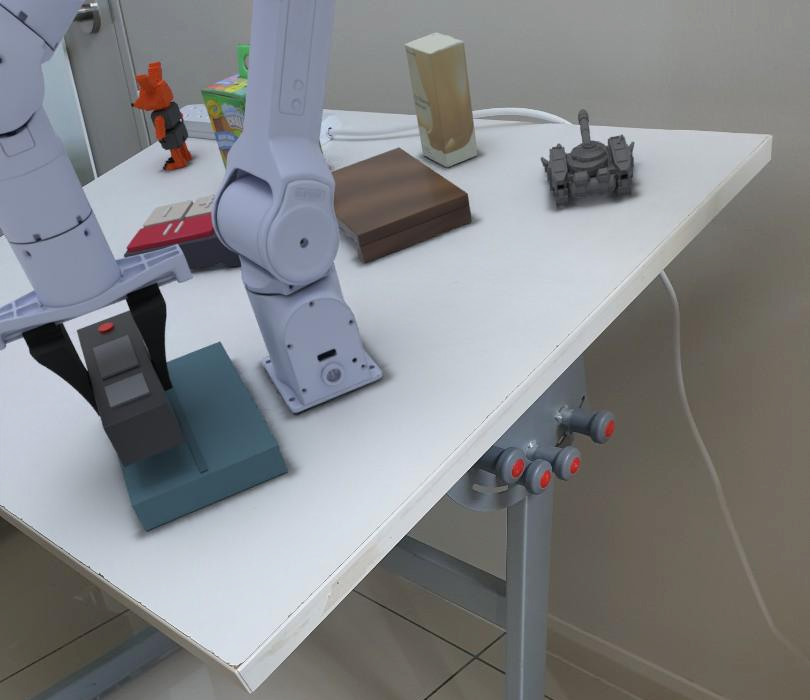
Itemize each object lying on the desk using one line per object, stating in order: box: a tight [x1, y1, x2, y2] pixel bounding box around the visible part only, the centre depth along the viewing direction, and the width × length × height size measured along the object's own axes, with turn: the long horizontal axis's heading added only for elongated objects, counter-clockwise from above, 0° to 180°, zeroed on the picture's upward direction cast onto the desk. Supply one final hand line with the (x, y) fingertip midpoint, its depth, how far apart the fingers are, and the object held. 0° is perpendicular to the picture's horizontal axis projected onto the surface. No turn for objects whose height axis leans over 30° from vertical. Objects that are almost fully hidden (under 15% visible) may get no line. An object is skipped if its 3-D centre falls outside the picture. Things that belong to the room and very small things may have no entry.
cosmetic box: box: [404, 31, 478, 168], centre depth 98 cm, size 6×4×12 cm
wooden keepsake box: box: [331, 147, 473, 264], centre depth 92 cm, size 18×12×3 cm, turn 23°
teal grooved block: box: [117, 341, 289, 532], centre depth 69 cm, size 18×11×3 cm, turn 23°
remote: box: [76, 309, 186, 467], centre depth 65 cm, size 16×4×4 cm, turn 23°
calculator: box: [123, 194, 241, 271], centre depth 95 cm, size 11×4×15 cm
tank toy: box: [540, 108, 635, 207], centre depth 87 cm, size 12×10×5 cm
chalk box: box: [200, 43, 324, 171], centre depth 103 cm, size 9×9×15 cm
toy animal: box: [130, 61, 193, 171], centre depth 116 cm, size 8×6×12 cm
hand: (134, 396), depth 66 cm, fingers closed on remote, 4 cm apart
